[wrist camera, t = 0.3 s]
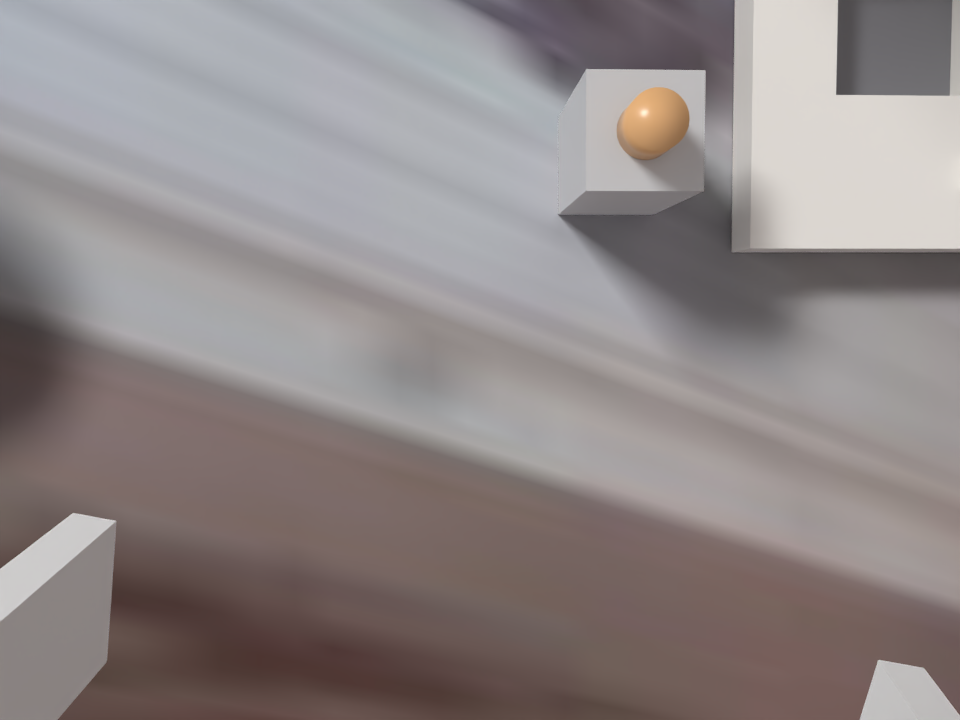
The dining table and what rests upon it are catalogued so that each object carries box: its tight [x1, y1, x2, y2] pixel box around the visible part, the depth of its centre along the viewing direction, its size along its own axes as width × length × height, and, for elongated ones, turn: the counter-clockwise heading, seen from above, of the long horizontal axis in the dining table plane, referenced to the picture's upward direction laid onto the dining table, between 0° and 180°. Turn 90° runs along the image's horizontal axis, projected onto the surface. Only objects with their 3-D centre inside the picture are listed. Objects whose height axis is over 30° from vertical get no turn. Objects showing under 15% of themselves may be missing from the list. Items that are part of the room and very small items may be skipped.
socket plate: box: [731, 0, 960, 252], centre depth 39 cm, size 20×14×3 cm
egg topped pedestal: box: [558, 69, 705, 215], centre depth 36 cm, size 4×4×10 cm
